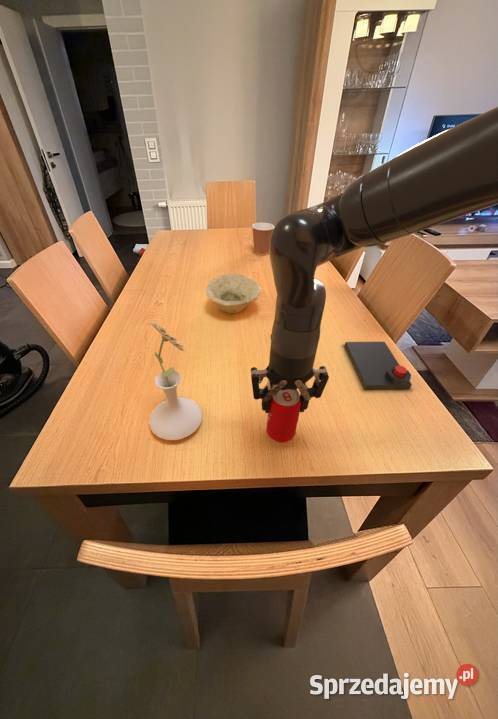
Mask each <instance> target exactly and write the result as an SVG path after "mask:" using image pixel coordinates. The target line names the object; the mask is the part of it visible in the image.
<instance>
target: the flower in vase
mask: <svg viewBox="0 0 498 719" xmlns="http://www.w3.org/2000/svg"><path fill="white" fill-rule="evenodd" d="M149 323H150V324H151V326H152V327H153V328H154V329H155V330H156V331H157V332H158V334H160V335H161V342H160V346H159V350H158V353H157V352H156V351H155V352H154V356H155V357H156V359H157V360H158V362H159V365H160V367H161V370H162V371H161V372H160V373H158V374H157V375H156V376H155V378H154V384H155V385H156V387H157V388H160V389H161V390H162V391H163V393H164V396H165V398H166V399H165V400H163V401H161V402H160V403H158V404H157V405H156V406H155V407H154V408H153V410H152V412H151V413H150V416H149V422H148V423H149V428H150V430H151V432H152V433H153V434H154V435H155V436H157V437H158V438H160V439H163V440H165V441H166V440H167V441H178V440H182V439H185V438H188V436H190V435H192V434H193V433H195V432H196V430H198V429H199V427H200V425H201V423H202V421H203V413H202V409H201V408H200V406H199V404H197V403H196V402H195V401H194V400H193V399H191V398H187V397H183V396H178V386H179V384H180V383H181V381H182V375H181V374H180V372H178V371H175V370H176V369H175V367H169V368H168V369H166V370H165V368H164V366H163V364H164V360H163V358H162V357H161V354H162V350H163V345H164V342H165V343H166V342H169V343H170V344H172V346H174V347H175V348H177V349H178V350H179V351H181V352H184V351H185V349H184V345H183V344H181V343H180V342H178V341H177V339H176V337H174V336H173V335H170V333H168V332H167V330H166V329H165V328H164V327H163V326H161V325H159V323H158V322H157V321H156V320H151V319H150V321H149Z"/></svg>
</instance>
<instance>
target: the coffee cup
mask: <svg viewBox="0 0 498 719" xmlns="http://www.w3.org/2000/svg"><path fill="white" fill-rule="evenodd" d="M251 227H252V240H253V252H254V253H255V254H256V255H261V256H264V255H267V254H269V245H270V239H271V235H272V232H273V230H274V227H275V225H274V224H272V223H270V222H255V223H252V225H251Z"/></svg>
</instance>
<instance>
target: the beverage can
mask: <svg viewBox="0 0 498 719" xmlns="http://www.w3.org/2000/svg"><path fill="white" fill-rule="evenodd" d="M300 408H301V397H300V391H299V389H297V390H290V389H287V390H280V391H279V392H278V393H277V394H276V395H275V396H274V395H273V397H272V398H271V399H270V409H269V413H267V418H266V428H265V429H266V431H265V432H266V434H267V436H268V437H269V438H270V439H271V440H272V441H274V442H276V443H288V442H290V441H291V440H293V439H294V437H295V436H296V432H297V428H298V422H299V417H300V413H301V412H300Z"/></svg>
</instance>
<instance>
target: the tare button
mask: <svg viewBox="0 0 498 719" xmlns="http://www.w3.org/2000/svg"><path fill="white" fill-rule="evenodd" d="M407 370H408V369H407V368H406V367H405V366H402V365H400V366H396V367H395V369H394V371H393V374H394V375H395V376H397V377H400V378H403V377H404V376H405V374H406V372H407Z"/></svg>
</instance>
